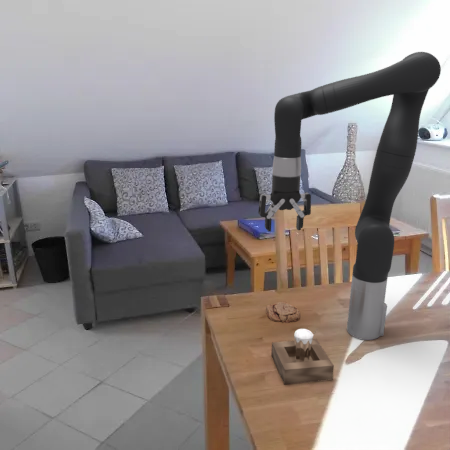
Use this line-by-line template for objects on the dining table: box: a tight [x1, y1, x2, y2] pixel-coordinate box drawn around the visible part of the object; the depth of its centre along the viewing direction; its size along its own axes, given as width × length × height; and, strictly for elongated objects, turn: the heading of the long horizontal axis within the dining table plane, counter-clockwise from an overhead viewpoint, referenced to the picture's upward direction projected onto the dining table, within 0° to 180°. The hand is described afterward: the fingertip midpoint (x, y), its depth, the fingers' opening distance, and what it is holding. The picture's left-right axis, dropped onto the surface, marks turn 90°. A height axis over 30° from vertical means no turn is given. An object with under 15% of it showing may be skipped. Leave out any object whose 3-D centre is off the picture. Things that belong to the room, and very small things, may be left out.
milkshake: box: [293, 328, 318, 362], centre depth 120 cm, size 4×5×10 cm
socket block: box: [270, 338, 335, 385], centre depth 121 cm, size 12×12×4 cm
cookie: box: [265, 301, 301, 324], centre depth 147 cm, size 10×11×3 cm
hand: (283, 230), depth 135 cm, fingers open, 8 cm apart
